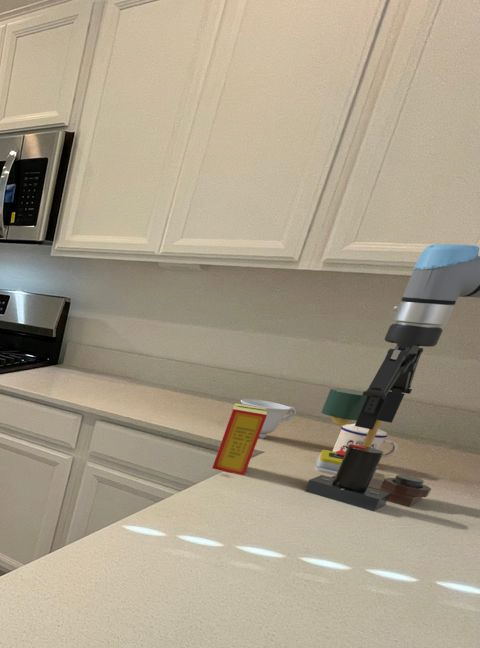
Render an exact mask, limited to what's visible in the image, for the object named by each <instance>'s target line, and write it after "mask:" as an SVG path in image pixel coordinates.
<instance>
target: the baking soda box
mask: <svg viewBox="0 0 480 648" xmlns="http://www.w3.org/2000/svg"><path fill="white" fill-rule="evenodd" d="M266 416H267V408H261V407H255V406H249V405H243V404H242V403H238V402H237V403H236V402H235V403H234V404H233V408H232V411H231V414H230V416H229V419H228V422H227V425H226V428H225V430H224V433H223V435H222V439H221V442H220V446H219V448H218V450H217V453H216V456H215V458H214V462H213V464H212V467H211V468H212V469H214V470H217V471H223V472H226V473H231V474H236V475H239V476H245V475H246V472H247V469H248V467H249V464H250V461H251V459H252V456H253V453H254V451H255V449H256V446H257V442H258V440H259V435H260V432H261V430H262V427H263V424H264V422H265V419H266Z"/></svg>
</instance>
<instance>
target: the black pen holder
mask: <svg viewBox="0 0 480 648" xmlns="http://www.w3.org/2000/svg"><path fill="white" fill-rule="evenodd" d="M383 454H384V451H382V450H381V449H380V450H378V449H374V448H370V447H366V446H360V445H354V444H350V445H349V446H348V449H347V451H346V453H345V455H344V458H343V460H342V462H341V465H340V467H339V469H338V472H337V474H336V476H335V475H334V476H335V478H334V481H333V483H334V484H335V485H338V486H340V487H343V488H347V489H351V490H357V491H366V490H367V488H368V485H369V483H370V481H371V479H372V478H374V477H373V476H374V475H375V473H376V470H377V468H378V466H379V464H380V461H381V459H382V455H383Z"/></svg>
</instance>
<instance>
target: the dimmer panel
mask: <svg viewBox="0 0 480 648" xmlns="http://www.w3.org/2000/svg"><path fill="white" fill-rule="evenodd" d="M332 477H333V476H329V475H325V474H320V475H318V476H316V477H313V478H310V479H308V483H307V485H306V486H305V489H304V492H305V493H308V494H312V495H316V496H319V497H322V498H326V499H329V500H333V501H336V502H340V503H343V504H346V505H350V506H353V507H357V508H361V509H364V510H366V511H370V512H376V511H377V510H380V509H381V508H383V507H385V506H386V504H387V502H388V501H387V500H388V498H389V496H390V494H391V493H388V492H384V491H380V490H377V489H373V488H369V487H368V488H367V490H366V491H357V490H351V489H347V488H343V487H340V486H338V485H335V484H334V483H333V481H334V478H332Z"/></svg>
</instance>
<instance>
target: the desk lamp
mask: <svg viewBox="0 0 480 648" xmlns="http://www.w3.org/2000/svg"><path fill="white" fill-rule="evenodd" d="M363 392H364V391H363V390H357V389H349V388H343V387H342V388H341V387H331V388H330V389H329V392H328V395H327V397H326V399H325V402H324V404H323V406H322V409H321V414H323V415H325V416H329V417H331V421H332V422H333V423H334V424H335V425H337V426H343V425H347V424H351V423H352V421H357V419H358V417H359V415H360V412H361V410H362V408H363V405H364V403H365V401H366V398H367V396H363ZM382 422H383V421H380V420H377V421H376V423H375V425H374V428H373V429H372V430H371V429H369V431H368V433H367V436H366V438H365V440H364V442H363V445H362V446H366V447H371V444H372V442H373V440H374V438H375V435H376V433H377V431H378V429H380V426H381V424H382Z"/></svg>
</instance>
